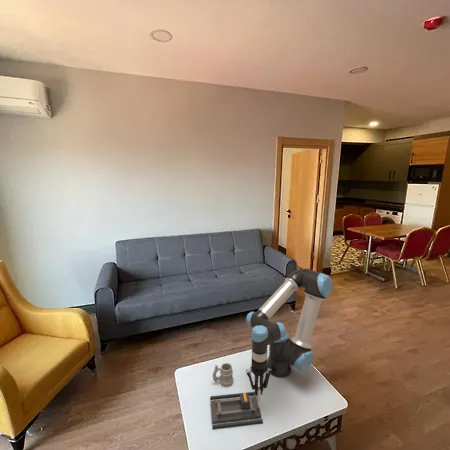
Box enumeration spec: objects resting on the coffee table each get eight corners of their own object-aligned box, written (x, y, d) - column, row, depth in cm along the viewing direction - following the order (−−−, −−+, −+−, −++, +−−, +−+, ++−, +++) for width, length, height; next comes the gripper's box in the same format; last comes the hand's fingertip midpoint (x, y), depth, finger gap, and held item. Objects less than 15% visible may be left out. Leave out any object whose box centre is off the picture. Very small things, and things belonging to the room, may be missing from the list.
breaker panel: (255, 398, 137) (255, 393, 137) (261, 418, 126) (261, 413, 125) (210, 403, 135) (210, 397, 134) (212, 424, 123) (212, 418, 122)
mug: (234, 386, 146) (234, 367, 144) (213, 389, 143) (213, 370, 141) (231, 376, 153) (231, 357, 151) (211, 379, 151) (211, 360, 149)
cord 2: (262, 421, 124) (262, 419, 124) (263, 423, 123) (263, 421, 123) (212, 427, 121) (212, 424, 121) (212, 429, 120) (212, 427, 120)
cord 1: (254, 393, 140) (254, 391, 140) (254, 395, 139) (255, 393, 139) (210, 398, 138) (210, 396, 137) (210, 400, 136) (210, 398, 136)
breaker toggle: (247, 402, 133) (247, 391, 132) (249, 410, 128) (250, 400, 127) (240, 403, 133) (240, 392, 132) (242, 411, 128) (242, 400, 127)
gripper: (270, 351, 131) (268, 392, 135) (244, 353, 130) (244, 395, 133) (274, 361, 124) (273, 404, 128) (247, 364, 122) (247, 407, 126)
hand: (258, 400), depth 131 cm, fingers closed
